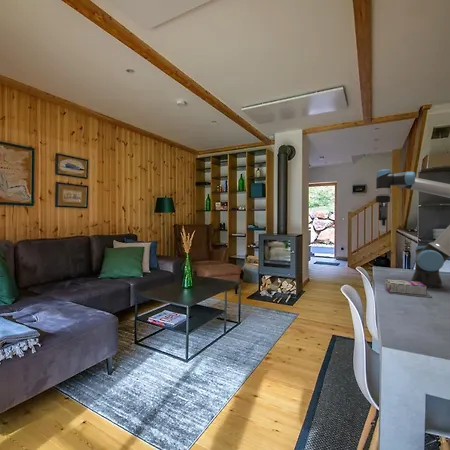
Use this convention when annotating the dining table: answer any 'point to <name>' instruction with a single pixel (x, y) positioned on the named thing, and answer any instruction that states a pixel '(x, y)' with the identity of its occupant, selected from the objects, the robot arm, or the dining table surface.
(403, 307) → the dining table surface
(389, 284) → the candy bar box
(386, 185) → the robot arm
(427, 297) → the rubber mat
